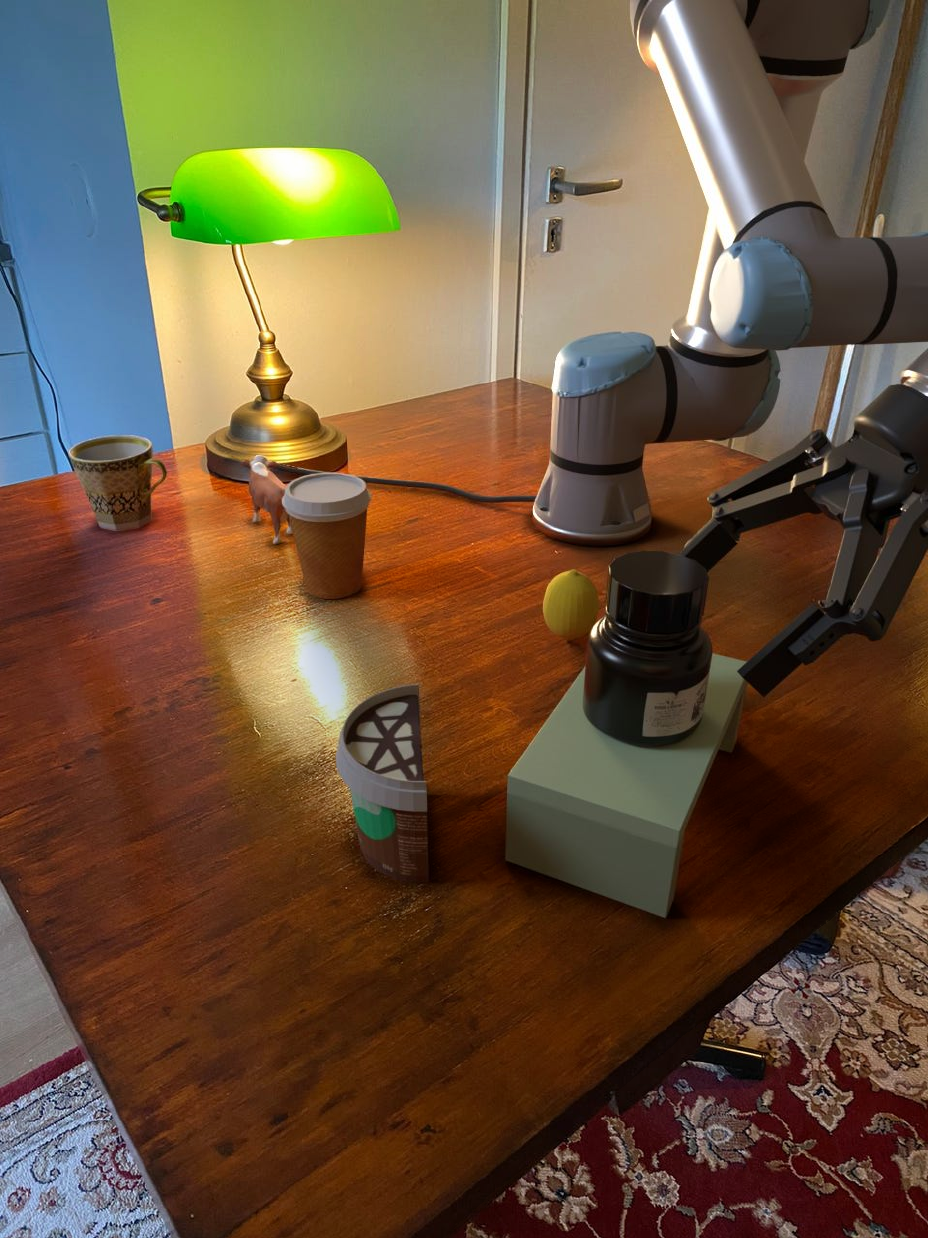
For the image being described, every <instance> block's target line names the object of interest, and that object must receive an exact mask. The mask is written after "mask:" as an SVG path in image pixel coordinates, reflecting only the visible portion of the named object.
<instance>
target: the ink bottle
mask: <svg viewBox="0 0 928 1238" xmlns="http://www.w3.org/2000/svg"><path fill="white" fill-rule="evenodd" d="M709 583H710V576H709V575H708V572H707V570H706V568H704V567H703V566H701V565H700V564H699V563H698V562H697V561H695V560H692V559H690V558H687V557H685V556H683V555H681V554H679V553H674V552H670V551H665V550H645V549H644V550H639V551H632V552H631V551H630V552H626V553H624V554H622V555H620V556H617V557H615V558H613V560H612V562H611V563H610V564H609V565H608V570H607V580H606V593H605V609H604V616H602V617H601V618H600V619H598V620H596V621H595V624H594V626H593V627H592V629H591V630H590V631H589V632H588V637H587V641H586V653H585V655H586V656H585V665H584V667H585V678H584V691H583V711H584V714H585V716H586V718H587V719H588V721H589V722H590V723H591V724H592V725H593V726H594V727H595V728H597V729H598V730H599V731H601V732H603V733H604V734H606V735H608V736H610V737H613V738H615V739H618V740H620V741H624V742H627V743H631V744H636V745H642V746H666V745H671V744H674V743H677V742H680V741H682V740H684V739H685V738H687V737H689V736H690V735H691V734H692V733H693V732H694V731H695V730H696V729H697V728H698V726H699V724H700V722H701V720H702V716H703V710H704V704H705V698H706V692H707V686H708V680H709V674H710V667H711V661H712V653H714V652H713V643H712V640H711V638H710V636H709V634H708V633H707V631H706V630H705V629H704V628H703V626H702V623H703V617H704V615H705V607H706V601H707V596H708V590H709Z"/></svg>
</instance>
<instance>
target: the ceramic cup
mask: <svg viewBox="0 0 928 1238" xmlns="http://www.w3.org/2000/svg"><path fill="white" fill-rule="evenodd" d="M153 447H154V446H153V442H152V441H151V440H150V439H149V438H146V437H145V436H144V437H143V436H139V435H131V434H113V435H104V436H98V437H94V438H90V439H87V440H83V441H81V442H78V443H76V444H75V445H73V446H72V447H70V449H69V450H68V452H67V454H68V457H69V460H70V462H71V465H72V468H73V470H74V471H75V474H76V477H77V479H78V481H79V483H80V485H81V486H82V489H83V490H84V492H85V494H86V497H87V500H88V502H89V504H90V507H91V509H92V512H93V514H94V517H95V519H96V521H97V523H98V526H99V527H100V528H101V529H104V530H108V531H113V532H122V531H129V530H135V529H140V528H141V527H143V526H146V525H147V524H149V523H150V522H152V493H154V491H155V490H156V488H157V487H158V486H159V485H161V484H162V483H163V482H165V480H166V478H167V476H168V475H167V474H168V471H167V468H166V466H165V464H164V462H162V461H161V459H158V458H154V448H153ZM154 466H157V467H158V468H159V469H160V470H161V474H162V475H161V478H160V479H159V480H158V481H156V482H155V483H153V485H152V480H153V479H152V478H153V467H154Z"/></svg>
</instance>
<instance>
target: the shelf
mask: <svg viewBox="0 0 928 1238" xmlns="http://www.w3.org/2000/svg"><path fill="white" fill-rule="evenodd" d="M746 662H747V661H746V660H742V659H738V658H733V657H729V656H725V655H721V654H717V653H714V652H712V661H711V667H710V674H709V680H708V686H707V692H706V698H705V704H704V710H703V716H702V720H701V722H700V724H699V726H698V728H697V729H696V730H695V731H694V732H693V733H692V734H691V735H690V736H689V737H687V738H685V739H684V740H682V741H680V742H677V743H674V744H671V745H666V746H642V745H636V744H631V743H627V742H624V741H620V740H618V739H615V738H613V737H610V736H608V735H606V734H604V733H603V732H601V731H599V730H598V729H597V728H595V727H594V726H593V725H592V724H591V723H590V722H589V721H588V719H587V718H586V716H585V714H584V711H583V691H584V678H585V666H584V667H583V669H582V670H581V671H580V673H579V674H578V675H577V678H575V680H574V682H573V683H572V684H571V685H570V687H569V688H568V690H567V691H566V692H565V694H564V696H563V697H562V698H561V700H560V701H559V703H558V704H557V705H556V707H555V708H554V709H553V711H552V712H551V714H550V715H549V716H548V718H547V719H546V721H545V722H544V724H543V725H542V727H541V728H540V729H539V731H538V732H537V733H536V735H535V736H534V738H533V739H532V741H531V742H530V743H529V745H528V746H527V748H526V749H525V750H524V751H523V754H521V756H520V757H519V759H518V760H517V762H516V763H515V765H513V767H512V768H511V770H510V772H509V773H508V774H507V788H506V791H507V794H506V820H505V821H506V822H505V823H506V824H505V853H504V856H505V857H504V860H505V861H506V862H509V863H512V864H515V865H517V866H520V867H523V868H526V869H528V870H531V871H534V872H536V873H539V874H542V875H545V876H548V877H551V878H554V879H556V880H559V881H561V882H564V883H567V884H569V885H573V886H575V887H578V888H581V889H583V890H586V891H589V892H592V893H595V894H598V895H600V896H602V897H606V898H608V899H611V900H613V901H615V902H616V901H617V902H619V903H622V904H625V905H628V906H630V907H633V908H636V909H639V910H641V911H644V912H646V913H650V914H652V915H656V916H657V917H660V918H663V919H667V917H668V915H669V912H670V909H671V907H672V905H673V901H674V900H675V893H676V888H677V881H678V876H679V871H680V870H679V869H680V863H681V857H682V851H683V846H684V839H685V834H686V833H685V832H686V828H687V826H688V823H689V820H690V819H691V816H692V814H693V811H694V810H695V807H696V804H697V802H698V799H699V797H700V795H701V792H702V790H703V788H704V784H705V782H706V780H707V778H708V775H709V773H710V770H711V769H712V766H713V765H714V760H715V758H716V756H717V754H718V752H719V750H720V751H724V752H727V753H733V750H734V747H735V745H736V743H737V740H738V735H739V729H740V725H741V724H740V723H741V720H742V713H743V708H744V703H745V697H746V692H747V688H748V684H749V683H748V682H747V681H746V680H745V679H743V678H742V677H741V675H740V674H739V673H738V672H737V671H738V670H739V669H740V668H741V667H742V666H743V665H744V664H745V663H746Z"/></svg>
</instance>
